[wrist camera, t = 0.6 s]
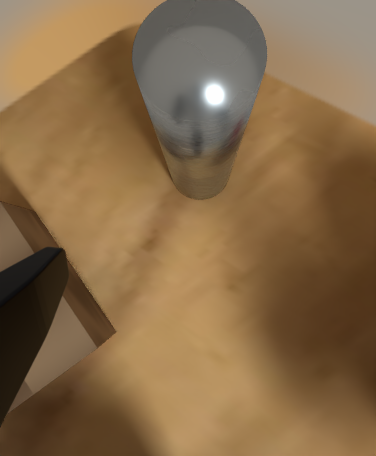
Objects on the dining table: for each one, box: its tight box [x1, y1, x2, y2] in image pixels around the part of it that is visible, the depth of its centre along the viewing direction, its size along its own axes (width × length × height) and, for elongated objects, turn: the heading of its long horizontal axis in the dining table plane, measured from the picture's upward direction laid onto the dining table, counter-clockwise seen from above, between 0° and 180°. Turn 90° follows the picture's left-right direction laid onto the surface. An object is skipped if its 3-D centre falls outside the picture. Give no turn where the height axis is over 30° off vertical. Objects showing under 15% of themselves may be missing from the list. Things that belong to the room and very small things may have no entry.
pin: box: [132, 0, 267, 200], centre depth 16 cm, size 4×4×13 cm
